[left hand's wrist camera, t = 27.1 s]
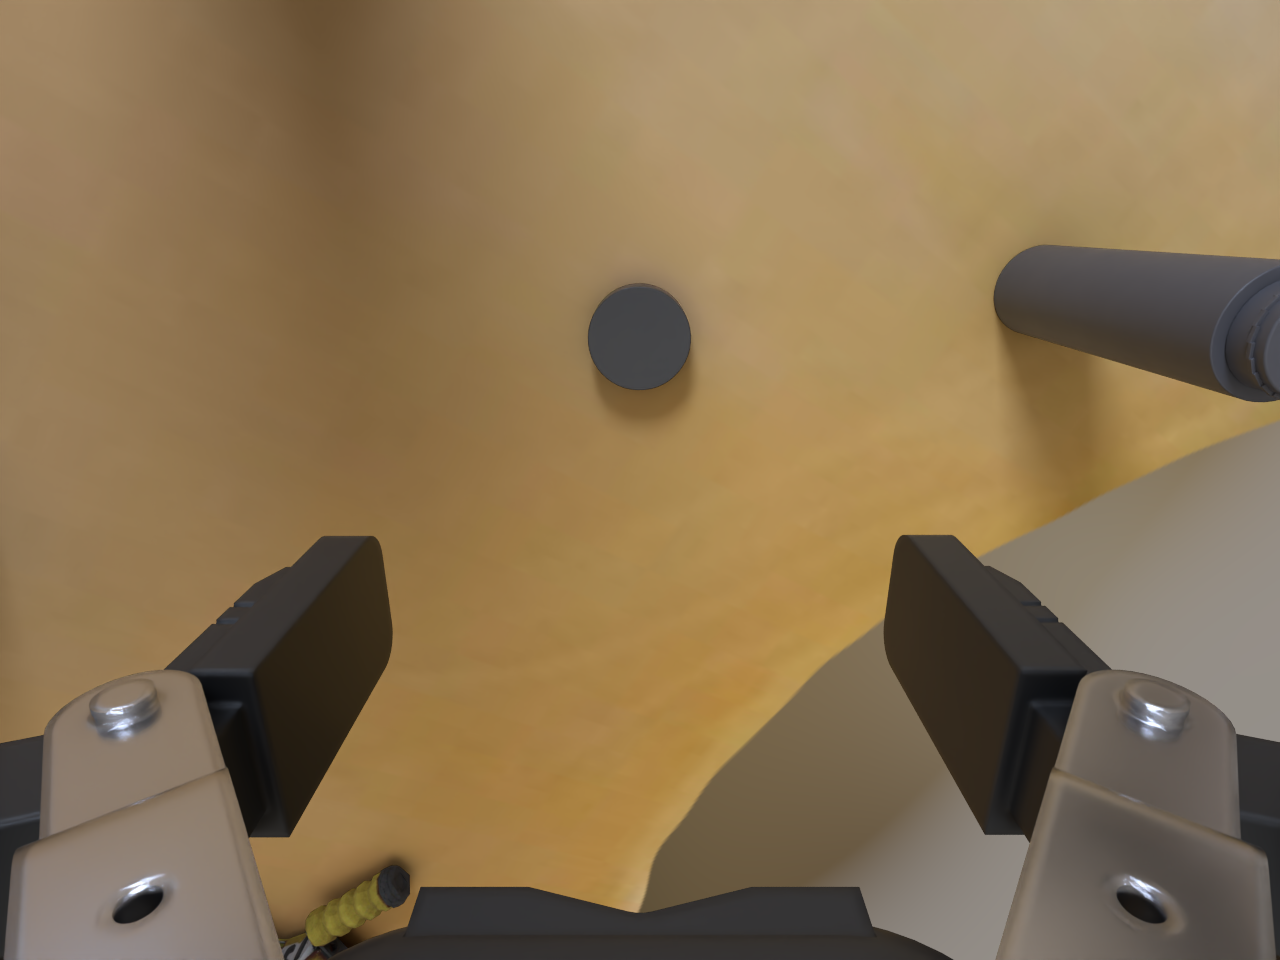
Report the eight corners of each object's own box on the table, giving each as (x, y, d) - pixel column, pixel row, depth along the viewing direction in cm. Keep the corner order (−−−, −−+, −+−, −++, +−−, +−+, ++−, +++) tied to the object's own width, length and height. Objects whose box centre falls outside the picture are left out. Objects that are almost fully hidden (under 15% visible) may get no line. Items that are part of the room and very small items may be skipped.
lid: (705, 310, 36) (708, 315, 34) (661, 398, 38) (662, 406, 36) (615, 265, 35) (614, 268, 34) (574, 357, 37) (571, 363, 35)
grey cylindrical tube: (977, 285, 36) (1225, 333, 20) (1054, 225, 35) (1374, 230, 20) (1020, 351, 37) (1285, 443, 22) (1096, 295, 36) (1430, 351, 21)
